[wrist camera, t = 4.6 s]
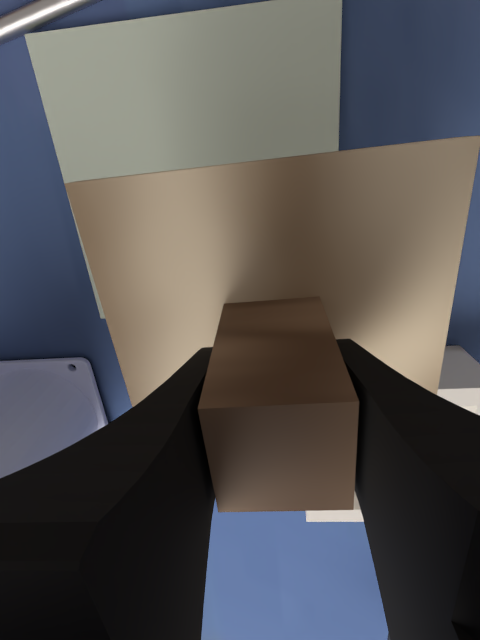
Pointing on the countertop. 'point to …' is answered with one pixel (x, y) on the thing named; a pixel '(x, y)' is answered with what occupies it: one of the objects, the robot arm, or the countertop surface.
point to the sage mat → (191, 89)
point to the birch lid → (281, 297)
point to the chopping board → (37, 16)
